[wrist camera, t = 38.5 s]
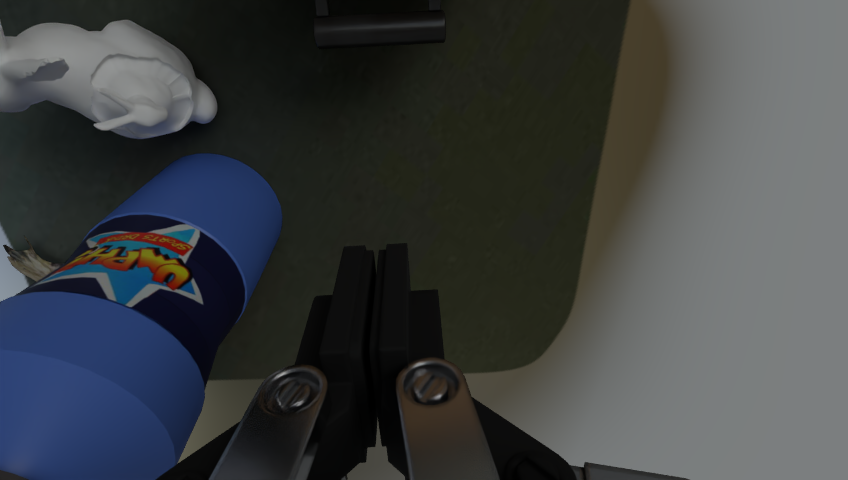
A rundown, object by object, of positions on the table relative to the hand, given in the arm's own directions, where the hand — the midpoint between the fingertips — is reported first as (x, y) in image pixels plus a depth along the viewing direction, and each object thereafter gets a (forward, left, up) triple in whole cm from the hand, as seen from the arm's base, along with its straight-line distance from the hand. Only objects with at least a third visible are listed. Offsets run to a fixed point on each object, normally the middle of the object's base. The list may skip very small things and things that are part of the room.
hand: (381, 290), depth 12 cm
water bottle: (+8, +13, -21) cm, 25 cm away
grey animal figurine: (+16, +4, -21) cm, 26 cm away
